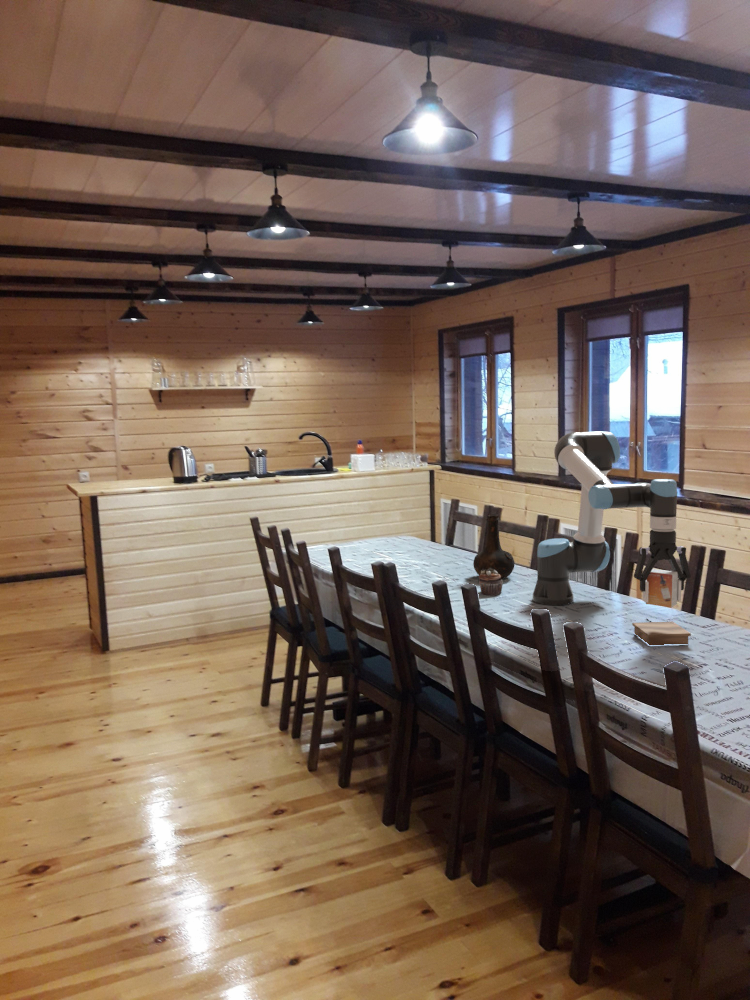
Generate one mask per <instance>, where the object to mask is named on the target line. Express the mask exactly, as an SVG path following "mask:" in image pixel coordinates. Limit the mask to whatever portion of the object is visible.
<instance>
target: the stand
mask: <svg viewBox="0 0 750 1000" xmlns="http://www.w3.org/2000/svg"><path fill="white" fill-rule="evenodd" d="M631 625H632V626H633V627H634V630H633V631H634V633H635V634H636V635H638V636H639V637H640V638H641V639H643V640H644V641H645V642H647V643H648V644H649V645H664V644H688V645H689V637H692V633H691V632H689V631H688V630H686V629H685V628H683V627H682V626H680V625H679V624H677V623H675V622H674V621H668V622H649V621H646V622H644V621H642V622H632V624H631Z"/></svg>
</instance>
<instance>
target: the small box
mask: <svg viewBox="0 0 750 1000" xmlns="http://www.w3.org/2000/svg"><path fill="white" fill-rule="evenodd" d="M646 581H648V582H649V590H648V603H646V602H645V604H646V605H652V606H658V607H663V608H669V609H673V608H674V607H675V606H677V604H678V601H677V592H678V573H677V572H676V571H674V570H664V569H656V568H653V569H652V571H651V572H650V574H649V576H648V578H647V580H646Z"/></svg>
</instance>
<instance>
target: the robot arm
mask: <svg viewBox="0 0 750 1000" xmlns="http://www.w3.org/2000/svg"><path fill="white" fill-rule="evenodd" d="M620 455H621V449H620V442H619V440H618V438H617V437H616V435H615V434H614V433H613V432H610V431H602V430H601V431H581V432H578V431H576V432H575V431H574V432H570V433H567V434H565V435H563V436H561V438H559V440H558V441H557V442H556V444H555V447H554V458H555V461H556V462H557V464H558V465H559V466H560V467H561V468H563V470H568V471H569V472H570V474H571V475H572V476H573V477H574V478H575V479H576V480H577V481H578V482H579V483H580V484H581V490H580V500H579V501H580V503H579V514H578V515H579V516H578V524H577V525H578V526H577V532H576V533H574V535H573V536H572V541H570V540H569V539H567V538H563V537H561V538H560V537H559V538H547V539H545V540H542V541H540V542H539V544H538V545H537V551H536V552H537V553H536V556H537V557H536V558H537V561H536V563H537V565H536V567H537V570H536V571H537V579H536V584H535V587H534V589H533V593H532V601H533V602H534V603H538V604H540V605H548V606H564V605H563V604H566V605H569V604H568V603H570V604H572V603H574V594H573V590H572V588H571V584H570V580H569V579H570V578H569V576H570V573H572V574H573V573H589V572H590V573H595V572H598V571H599V572H601V571H603V570H604V569H605V568H607V566H608V564H609V562H610V558H611V551H610V546H609V543H608V542H607V541H606V538H605V537H604V535H602V530H603V529H602V528H603V520H604V519H603V518H604V511H605V510H608V509H610V510H611V509H624V508H625V509H627V508H630V509H631V508H649V510H650V511H649V514H650V515H649V528H650V531H649V545H648V546H647V547H643V546H642V547H641V546H640V547H639V549H638V552H639V555H638V559H637V563H636V566H635V571H634V572H633V578H634V579H636V580H638V581H639V590H640V591H641V592H642V602H644V603H645V604H646V603H648V590H649V582H648V581H647V578H648V576H649V574H650V572H651V571H652V569H654V567H655V565H656V564H657V563H658V561H663V560H665V561H668V562H669V564H670V565H671V568H672V571H676V572H677V573H678V592H677V603H678V602H682V591H684V589H685V581H687V579H690V578H691V577H692V575H691V572H690V567H689V564H688V558H687V555H686V554H687V547H685V546H683V545H680V546H677V544H676V542H677V531H676V529H677V508H678V507H677V505H678V503H677V502H678V488H677V487H678V485H677V481H676V480H675V479H669V478H656V479H652V480H651V481H650V483H648V482H645V481H644V482H636V483H627V484H626V483H625V484H624V483H622V484H620V483H618V484H615V483H614V482H613V481H611V480H610V479H609V477H608V476H607V475H608V473H609V472H611V471H612V469H613V464H616V463H617V462H618V461H619V459H620V457H621V456H620ZM676 552H677V555H678V558H679V562H680V566H679V564H678V562H677V560H676V558H675V556H674V554H676ZM649 553H650V556H649V557H648V558H649V559H648V561H647V563H646V560H647V555H649ZM645 563H646V565H645ZM644 566H645V567H644ZM680 567H681V568H680ZM571 602H572V603H571Z"/></svg>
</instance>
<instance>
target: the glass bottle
mask: <svg viewBox="0 0 750 1000" xmlns="http://www.w3.org/2000/svg"><path fill="white" fill-rule="evenodd" d="M485 521H487V532H486V533H487V534H486V540H485V541H486V542H485V545H484V549H482V550H481V551H479V552H478V553H477V554H476V555H475V556H474V559H473V565H472V566H473V569H474V570H475V572H476V574H477V575H478V576H479V575H480V574H481V571H482V569H489V568H492V570H493V569H495V571H497V572H498V574H500V575H501V578H500V579H501V580H504V579H506V578H509V576H510V575H512V573H513V571H514V568H515V565H516V564H515V558H514V557H513V555H512V554H511V553H510V552H509V551H506V550H503V548H502V547H501V541H500V532H499V531H500V530H499V521H501V519H500V518H499V514H495V513H494V514H493V513H492V514H487V518H485Z"/></svg>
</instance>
